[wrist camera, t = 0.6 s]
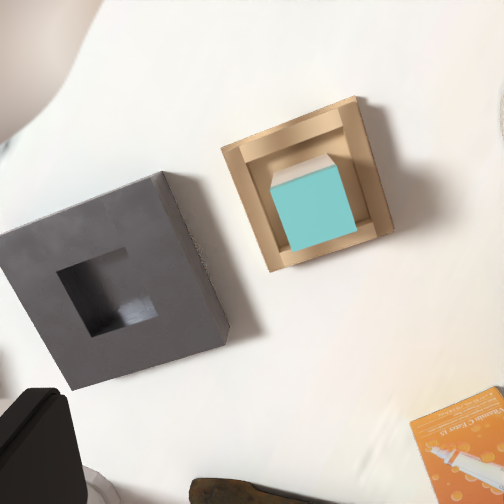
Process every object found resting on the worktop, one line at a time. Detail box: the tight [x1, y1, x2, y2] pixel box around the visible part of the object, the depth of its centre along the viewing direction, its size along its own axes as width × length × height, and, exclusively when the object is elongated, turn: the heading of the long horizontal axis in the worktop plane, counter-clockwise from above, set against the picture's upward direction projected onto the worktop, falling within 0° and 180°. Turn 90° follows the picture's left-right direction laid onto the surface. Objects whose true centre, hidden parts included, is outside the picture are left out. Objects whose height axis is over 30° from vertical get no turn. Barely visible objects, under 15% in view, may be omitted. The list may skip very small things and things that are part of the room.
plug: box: [270, 153, 357, 252], centre depth 29 cm, size 4×4×7 cm
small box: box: [409, 387, 504, 504], centre depth 32 cm, size 8×6×13 cm
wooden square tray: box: [221, 96, 394, 272], centre depth 32 cm, size 10×10×2 cm
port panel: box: [0, 171, 230, 391], centre depth 35 cm, size 14×14×3 cm
